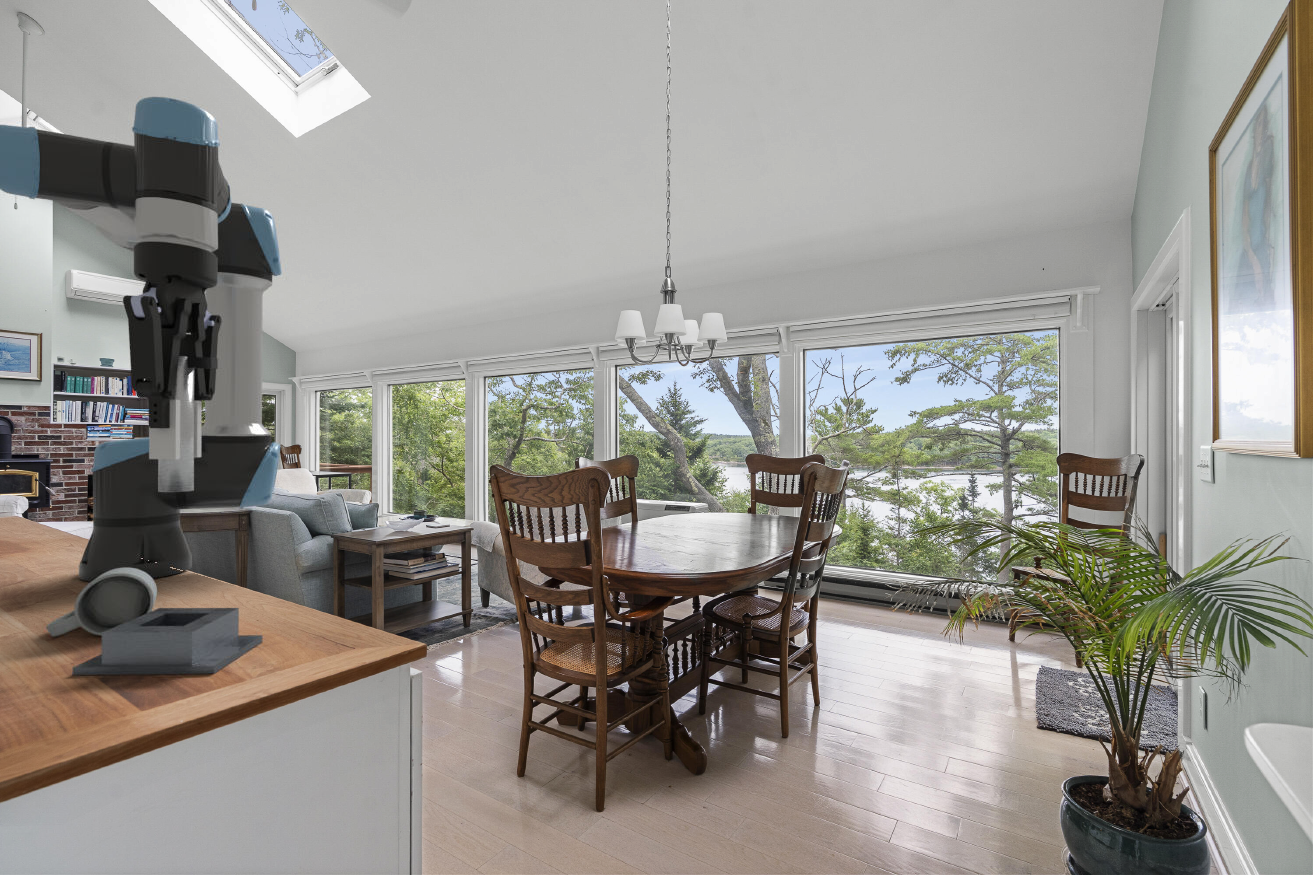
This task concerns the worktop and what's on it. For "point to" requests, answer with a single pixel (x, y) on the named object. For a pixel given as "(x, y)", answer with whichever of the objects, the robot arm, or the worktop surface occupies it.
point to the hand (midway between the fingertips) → (176, 457)
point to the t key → (183, 428)
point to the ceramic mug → (109, 602)
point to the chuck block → (171, 643)
